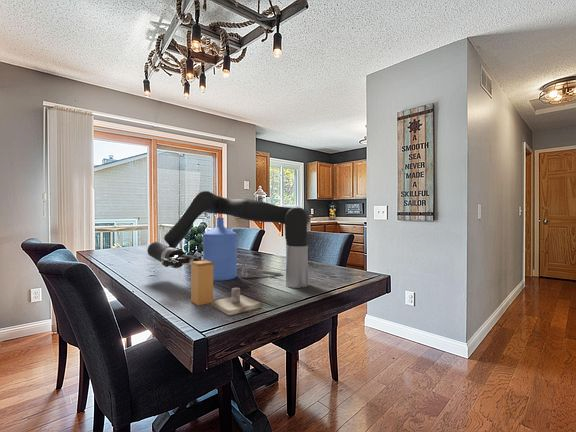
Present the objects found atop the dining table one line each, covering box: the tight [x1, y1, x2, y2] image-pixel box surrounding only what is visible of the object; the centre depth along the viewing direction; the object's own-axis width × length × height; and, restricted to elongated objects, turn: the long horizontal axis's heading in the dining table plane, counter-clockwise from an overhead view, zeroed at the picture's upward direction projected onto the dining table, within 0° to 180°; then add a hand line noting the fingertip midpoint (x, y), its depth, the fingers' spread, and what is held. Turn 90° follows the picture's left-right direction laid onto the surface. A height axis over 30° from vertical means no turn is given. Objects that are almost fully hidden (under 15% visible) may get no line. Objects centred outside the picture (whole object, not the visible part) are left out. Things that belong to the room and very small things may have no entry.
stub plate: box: [210, 287, 262, 316], centre depth 103 cm, size 12×12×6 cm
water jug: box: [202, 217, 238, 282], centre depth 144 cm, size 16×16×28 cm
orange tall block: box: [190, 259, 214, 306], centre depth 108 cm, size 6×6×14 cm
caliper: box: [240, 264, 284, 278], centre depth 148 cm, size 20×1×6 cm, turn 106°
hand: (189, 263), depth 115 cm, fingers open, 8 cm apart
